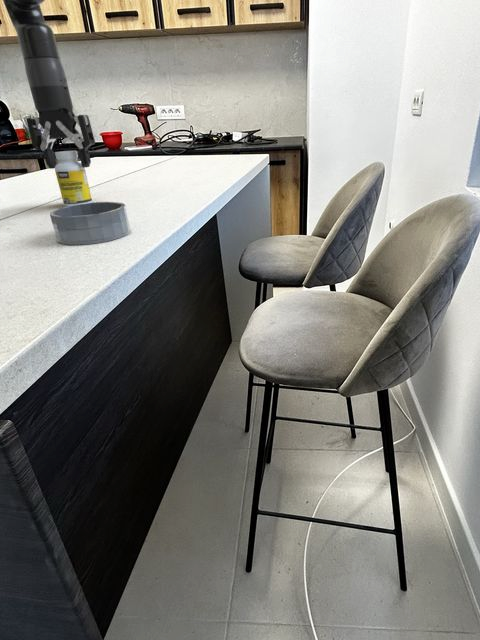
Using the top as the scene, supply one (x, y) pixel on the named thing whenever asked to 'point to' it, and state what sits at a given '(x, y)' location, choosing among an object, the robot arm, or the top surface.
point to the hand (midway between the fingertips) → (69, 167)
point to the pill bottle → (72, 179)
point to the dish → (90, 223)
